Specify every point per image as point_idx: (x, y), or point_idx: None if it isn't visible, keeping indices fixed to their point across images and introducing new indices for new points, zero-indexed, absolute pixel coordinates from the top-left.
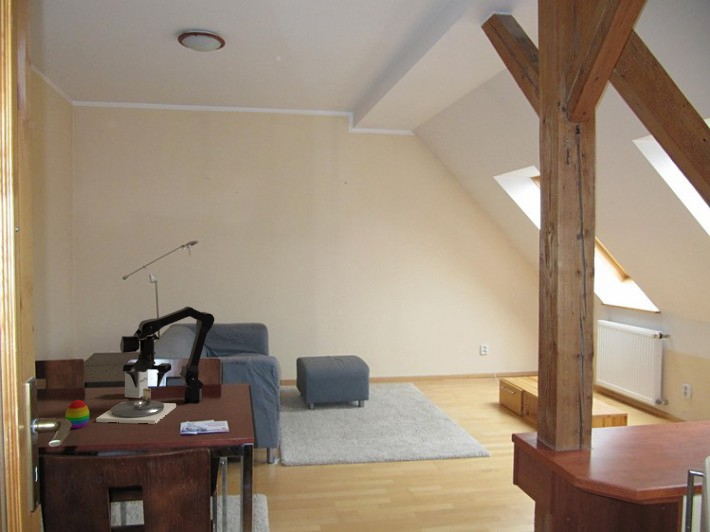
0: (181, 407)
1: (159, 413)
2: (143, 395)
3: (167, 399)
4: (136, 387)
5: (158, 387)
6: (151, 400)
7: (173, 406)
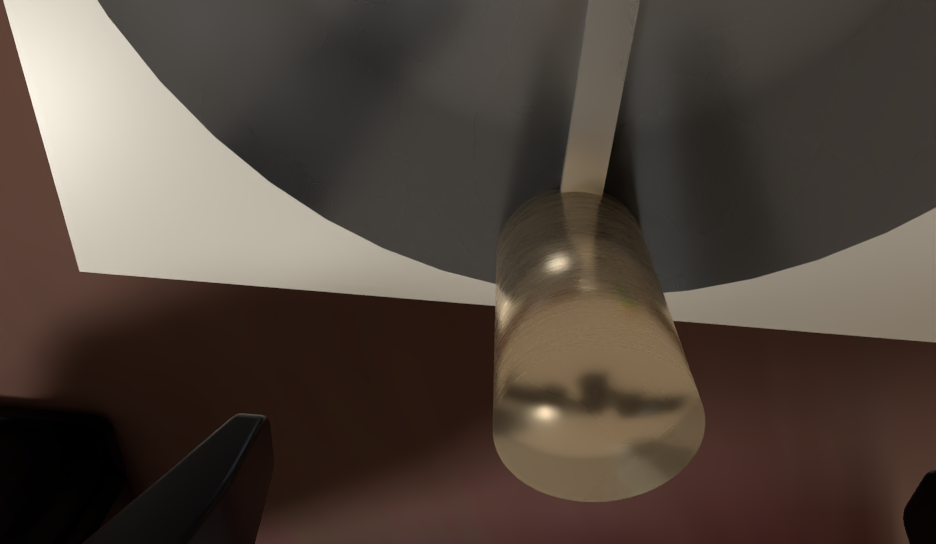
0: (14, 223)
1: None
2: (651, 278)
3: (396, 531)
4: (929, 473)
5: (230, 438)
6: (484, 274)
7: (60, 152)
